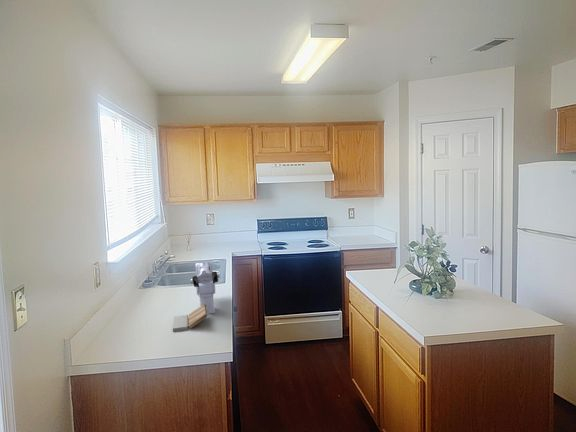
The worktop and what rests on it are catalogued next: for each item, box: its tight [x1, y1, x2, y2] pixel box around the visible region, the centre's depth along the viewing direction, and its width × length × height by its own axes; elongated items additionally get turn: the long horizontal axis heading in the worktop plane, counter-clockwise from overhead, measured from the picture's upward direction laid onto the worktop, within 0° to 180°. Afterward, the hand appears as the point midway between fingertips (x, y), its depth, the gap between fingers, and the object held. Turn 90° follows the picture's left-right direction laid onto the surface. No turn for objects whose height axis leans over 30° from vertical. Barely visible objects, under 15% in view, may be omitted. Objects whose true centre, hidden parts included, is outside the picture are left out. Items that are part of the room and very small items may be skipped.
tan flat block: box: [188, 304, 208, 329], centre depth 212 cm, size 18×10×2 cm
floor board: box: [172, 314, 189, 332], centre depth 211 cm, size 18×7×2 cm, turn 13°
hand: (205, 283), depth 208 cm, fingers open, 7 cm apart
